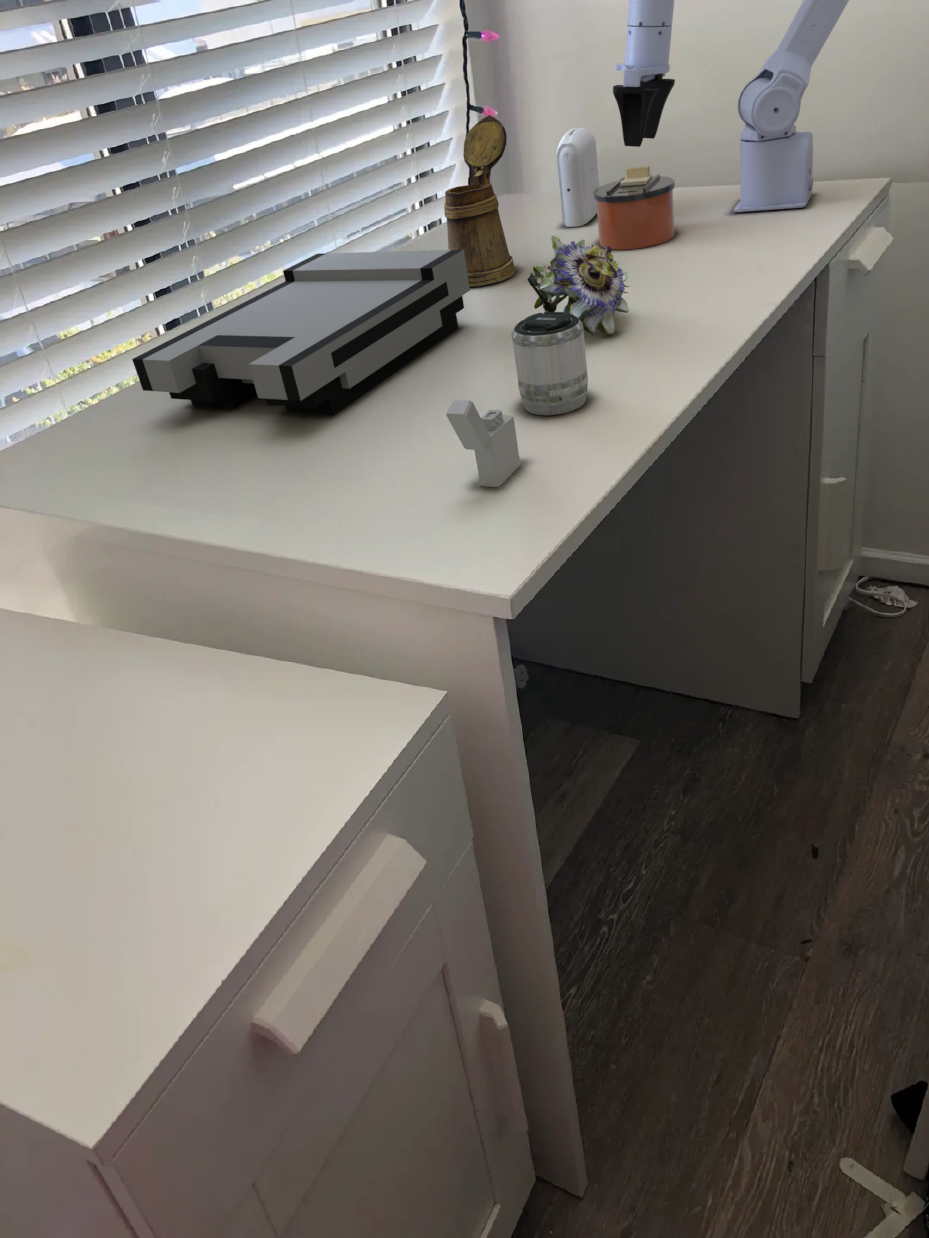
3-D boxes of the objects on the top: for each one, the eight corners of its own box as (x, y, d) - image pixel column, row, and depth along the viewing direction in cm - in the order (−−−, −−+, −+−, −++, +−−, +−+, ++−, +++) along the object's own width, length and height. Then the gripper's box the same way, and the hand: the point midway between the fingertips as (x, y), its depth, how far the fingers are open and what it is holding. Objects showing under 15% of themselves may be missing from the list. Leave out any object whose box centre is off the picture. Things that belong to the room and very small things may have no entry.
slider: (652, 179, 133) (651, 165, 133) (646, 184, 131) (646, 170, 130) (626, 181, 135) (625, 168, 134) (620, 186, 133) (619, 173, 132)
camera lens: (573, 419, 88) (563, 331, 84) (509, 415, 91) (497, 330, 87) (600, 391, 92) (593, 306, 88) (539, 388, 95) (529, 306, 91)
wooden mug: (538, 256, 137) (522, 110, 127) (499, 287, 127) (477, 132, 117) (480, 258, 140) (459, 118, 131) (437, 289, 131) (411, 139, 121)
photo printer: (588, 226, 146) (580, 134, 139) (559, 228, 148) (550, 137, 141) (604, 208, 154) (597, 120, 147) (577, 211, 156) (569, 124, 149)
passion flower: (610, 382, 108) (589, 315, 97) (522, 360, 113) (493, 293, 102) (652, 296, 110) (636, 221, 100) (563, 278, 115) (539, 204, 104)
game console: (154, 423, 104) (127, 347, 100) (332, 320, 126) (317, 253, 122) (310, 437, 94) (288, 353, 90) (474, 322, 116) (463, 249, 112)
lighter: (502, 463, 83) (488, 369, 78) (521, 464, 82) (507, 370, 77) (461, 503, 78) (443, 405, 73) (481, 505, 77) (464, 407, 72)
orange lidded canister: (684, 226, 137) (682, 170, 134) (666, 247, 130) (663, 189, 126) (609, 231, 142) (605, 177, 138) (587, 252, 134) (582, 196, 130)
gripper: (633, 22, 135) (625, 133, 143) (603, 28, 124) (596, 148, 132) (685, 23, 133) (674, 135, 141) (659, 29, 122) (648, 151, 129)
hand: (639, 142), depth 136 cm, fingers open, 7 cm apart
